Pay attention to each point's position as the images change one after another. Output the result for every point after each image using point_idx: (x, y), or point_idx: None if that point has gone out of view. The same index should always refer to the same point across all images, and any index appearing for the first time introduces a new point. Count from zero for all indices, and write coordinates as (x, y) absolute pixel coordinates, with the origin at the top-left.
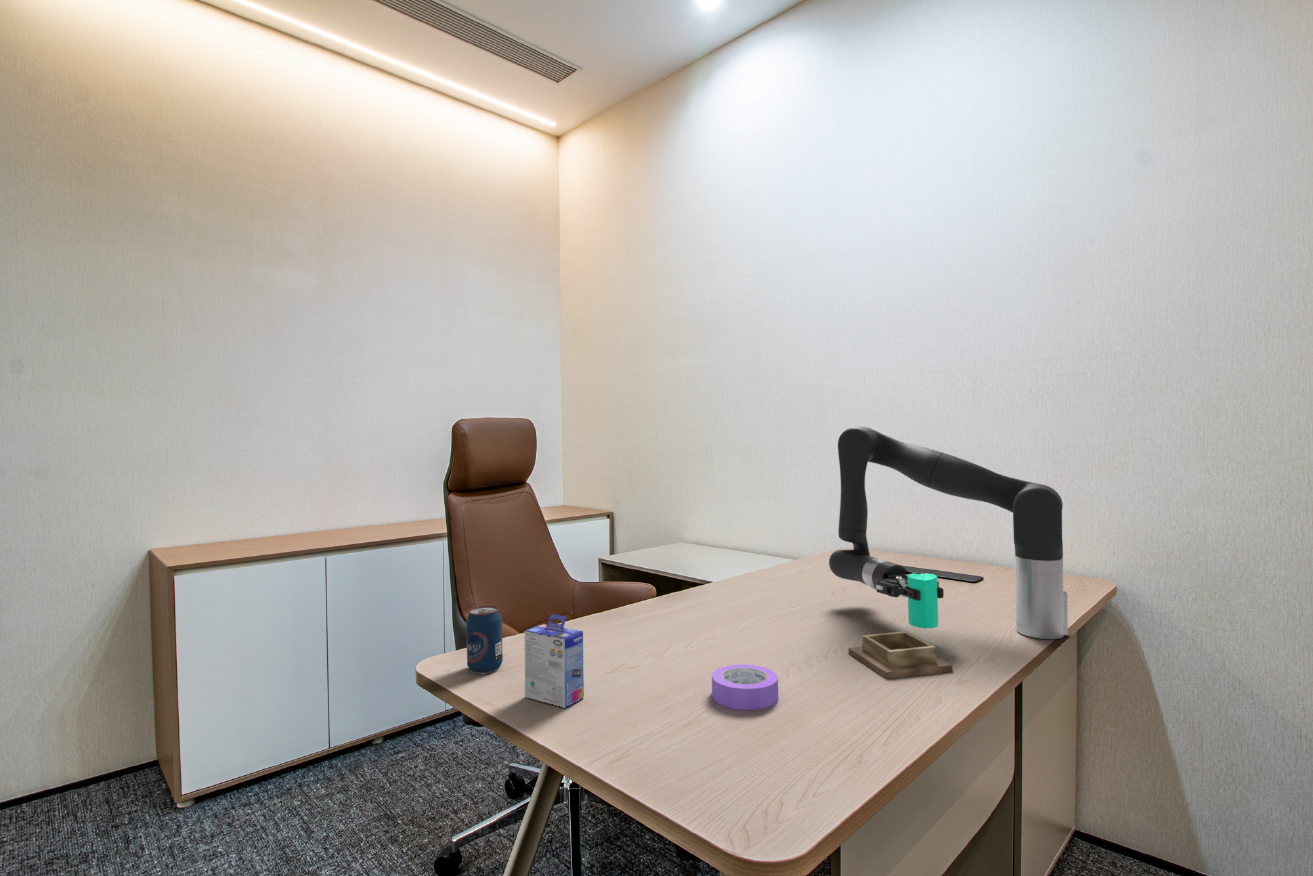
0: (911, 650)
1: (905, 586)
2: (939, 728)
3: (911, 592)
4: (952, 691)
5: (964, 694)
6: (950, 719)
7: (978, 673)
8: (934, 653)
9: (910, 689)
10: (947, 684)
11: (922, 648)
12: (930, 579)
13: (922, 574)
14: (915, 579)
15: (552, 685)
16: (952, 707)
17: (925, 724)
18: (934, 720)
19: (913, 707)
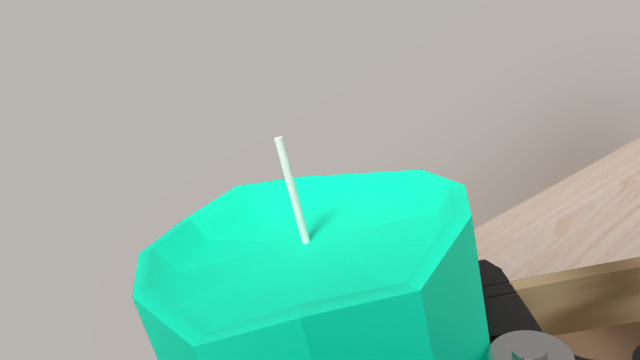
0: (605, 266)
1: (526, 332)
2: (589, 171)
3: (501, 272)
4: (513, 251)
5: (490, 244)
6: (560, 187)
7: None
8: None
9: (630, 250)
10: (511, 275)
11: (554, 273)
12: (311, 177)
13: (189, 313)
14: (430, 179)
15: None
16: (541, 210)
17: (614, 174)
18: (593, 182)
19: (631, 202)
